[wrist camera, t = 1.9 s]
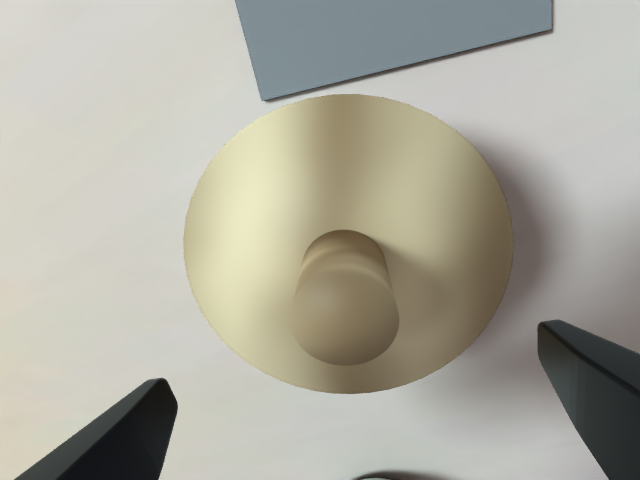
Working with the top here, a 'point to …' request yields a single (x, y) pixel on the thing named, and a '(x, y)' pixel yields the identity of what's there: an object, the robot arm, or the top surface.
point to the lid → (348, 244)
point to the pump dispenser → (375, 479)
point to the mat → (371, 35)
